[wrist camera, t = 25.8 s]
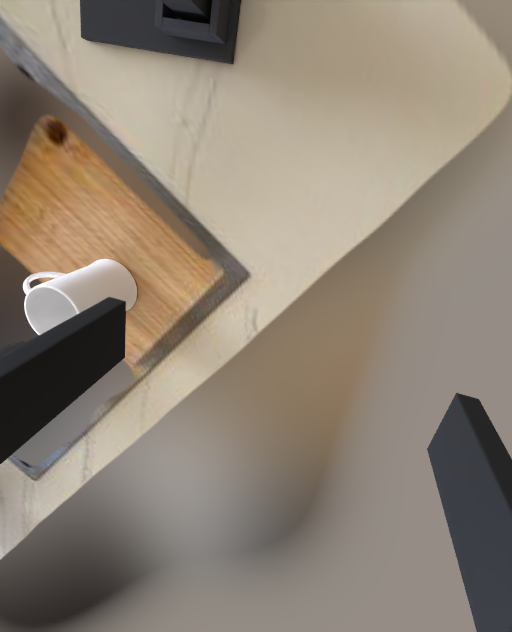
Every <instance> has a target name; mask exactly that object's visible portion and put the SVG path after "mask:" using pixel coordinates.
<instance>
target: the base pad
mask: <svg viewBox="0 0 512 632" xmlns="http://www.w3.org/2000/svg"><path fill="white" fill-rule="evenodd" d="M240 3H241V0H212V9H211V20H210V24H207V23H200V22H193V21H186V20H183V19H182V18H180V17H179V16H178V15H177V14H176V13H175V12H173V11H172V10H171V9H170V8H169V7H168V6H167V5H165V4H164V3H163V2H162V1H161V0H80V15H81V38H83V39H85V40H89V41H95V42H101V43H107V44H114V45H120V46H126V47H132V48H138V49H144V50H150V51H156V52H162V53H169V54H175V55H181V56H187V57H193V58H199V59H205V60H211V61H217V62H224V63H230V64H233V60H234V52H235V44H236V35H237V27H238V19H239V11H240Z"/></svg>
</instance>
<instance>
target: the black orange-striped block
mask: <svg viewBox="0 0 512 632" xmlns="http://www.w3.org/2000/svg"><path fill="white" fill-rule="evenodd" d="M161 1H162V2H163V3H164V4H165V5H167V6H168V7H169V8H170V9H171V10H172V11H173V12H175V13H176V14H177V15H178V16H179V17H180V18H182V19H183V20H186V21H193V22H200V23H207V24H210V20H211V9H212V0H161Z"/></svg>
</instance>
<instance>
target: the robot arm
mask: <svg viewBox="0 0 512 632" xmlns="http://www.w3.org/2000/svg"><path fill="white" fill-rule="evenodd" d="M125 325H126V301H123V300H119V299H116V298H112V297H108V298H106V299H104V300H102V301H101V302H99V303H97V304H95V305H93V306H92V307H90V308H88V309H86V310H84V311H82V312H81V313H79V314H77V315H75V316H73V317H72V318H70V319H68V320H66V321H64V322H62V323H61V324H59V325H57V326H55V327H53V328H51V329H50V330H48V331H46V332H44V333H42V334H41V335H39V336H37V337H35V338H33V339H31V340H30V341H28V342H26V343H25V342H19V343H16V344H12V345H9V346H5V347H3V348H1V349H0V464H1V463H2V462H4V461H5V460H6V459H7V458H8V457H9V456H11V455H12V454H13V453H14V452H15V451H16V450H18V449H19V448H20V447H21V446H22V445H23V444H24V443H26V442H27V441H28V440H29V439H30V438H31V437H32V436H34V435H35V434H36V433H37V432H38V431H40V430H41V429H42V428H43V427H44V426H45V425H47V424H48V423H49V422H50V421H51V420H52V419H54V418H55V417H56V416H57V415H58V414H59V413H61V412H62V411H63V410H64V409H65V408H66V407H68V406H69V405H70V404H71V403H72V402H73V401H75V400H76V399H77V398H78V397H79V396H80V395H82V394H83V393H84V392H85V391H86V390H87V389H88V388H90V387H91V386H92V385H93V384H94V383H96V382H97V381H98V380H99V379H100V378H101V377H103V376H104V375H105V374H106V373H107V372H108V371H110V370H111V369H112V368H113V367H114V366H115V365H116V364H118V363H119V362H120V361H121V360H122V359H124V358H125ZM427 450H428V453H429V457H430V461H431V465H432V468H433V472H434V475H435V479H436V483H437V487H438V490H439V494H440V498H441V501H442V505H443V509H444V512H445V516H446V520H447V523H448V527H449V531H450V534H451V538H452V542H453V545H454V549H455V553H456V556H457V560H458V564H459V568H460V571H461V575H462V579H463V582H464V586H465V590H466V593H467V597H468V601H469V604H470V608H471V611H472V615H473V619H474V623H475V626H476V630H477V632H512V459H511V457H510V455H509V454H508V452H507V450H506V448H505V446H504V444H503V443H502V441H501V439H500V437H499V435H498V433H497V432H496V430H495V428H494V426H493V424H492V422H491V421H490V419H489V417H488V415H487V414H486V412H485V410H484V408H483V406H482V404H481V402H480V401H479V399H476V398H473V397H469V396H466V395H462V394H458V393H456V395H455V397H454V399H453V400H452V402H451V404H450V406H449V409H448V410H447V412H446V414H445V416H444V418H443V420H442V422H441V423H440V425H439V427H438V429H437V431H436V433H435V435H434V437H433V439H432V441H431V443H430V445H429V447H428V448H427Z"/></svg>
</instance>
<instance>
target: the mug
mask: <svg viewBox="0 0 512 632" xmlns="http://www.w3.org/2000/svg"><path fill="white" fill-rule="evenodd" d="M42 277H54V278H55V279H53V280H50V281H48V282H45V283H42V284H40V285H37V286H35V287H33V288H32V289H31V288H30V286H29V283H30V282H31V281H32V280H34V279H37V278H42ZM23 290H24V292H25V294H26V297H25V302H24V307H25V313H26V317H27V319H28V321H29V323H30V325H31V326H32V328H33V329H34V330H35V332H36V333H37V334H38V335H41V334H42V333H44V332H46V331H48V330H50V329H51V328H53V327H55V326H57V325H59V324H61V323H62V322H64V321H66V320H68V319H70V318H72V317H73V316H75V315H77V314H79V313H81V312H82V311H84V310H86V309H88V308H90V307H92V306H93V305H95V304H97V303H99V302H101V301H102V300H104V299H106V298H108V297H112V298H116V299H119V300H123V301H126V311H128V310H130V309H131V308H132V307H133V305H134V304H135V302H136V299H137V286H136V283H135V280H134V278H133V276H132V275H131V273H130V272H129V271H128V270H127V269H126V268H125V267H124V266H123V265H122V264H120V263H118V262H116V261H114V260H110V259H100V260H97V261H95V262H94V263H92V264H91V265H89V266H87V267H84V268H81V269H79V270H76V271H74V272H71V273H68V274H64V273H59V272H39V273H35V274H32V275H30V276H29V277H27V278H26V280H25V281H24V284H23Z"/></svg>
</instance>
